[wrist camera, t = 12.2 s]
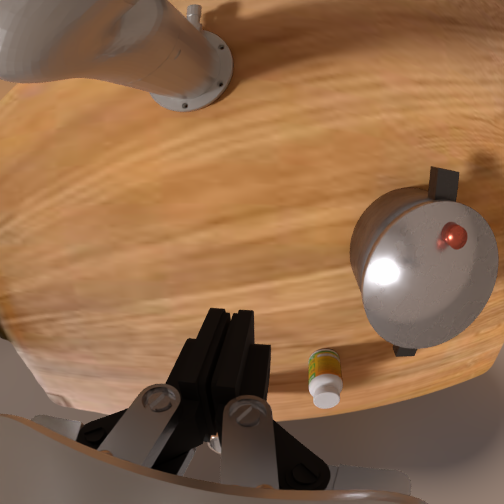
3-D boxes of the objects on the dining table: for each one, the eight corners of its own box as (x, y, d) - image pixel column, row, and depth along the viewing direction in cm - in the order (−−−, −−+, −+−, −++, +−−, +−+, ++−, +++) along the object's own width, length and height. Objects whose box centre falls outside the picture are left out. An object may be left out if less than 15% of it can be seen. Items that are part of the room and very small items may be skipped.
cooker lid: (373, 189, 27) (382, 194, 24) (506, 211, 25) (521, 217, 22) (348, 342, 34) (351, 359, 31) (467, 341, 31) (476, 354, 28)
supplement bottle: (309, 347, 47) (310, 389, 38) (341, 347, 46) (347, 388, 37) (307, 370, 49) (307, 411, 40) (337, 370, 48) (341, 411, 39)
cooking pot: (358, 154, 35) (379, 158, 26) (468, 173, 33) (507, 184, 24) (338, 319, 44) (345, 361, 35) (435, 321, 42) (457, 357, 33)
